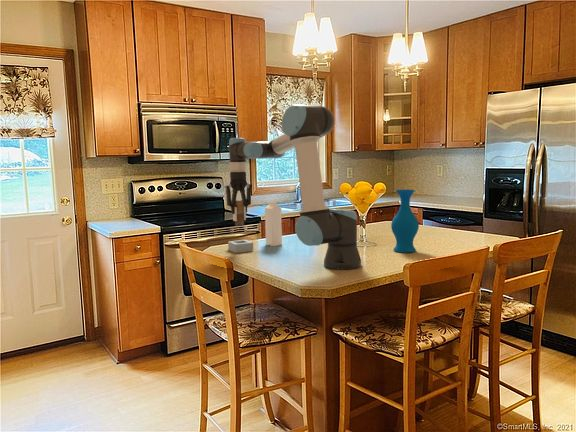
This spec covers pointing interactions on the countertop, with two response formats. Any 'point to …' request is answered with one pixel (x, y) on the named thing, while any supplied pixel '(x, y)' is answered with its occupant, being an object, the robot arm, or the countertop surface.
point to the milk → (273, 224)
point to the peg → (239, 213)
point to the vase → (404, 224)
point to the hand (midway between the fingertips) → (239, 220)
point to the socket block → (240, 246)
